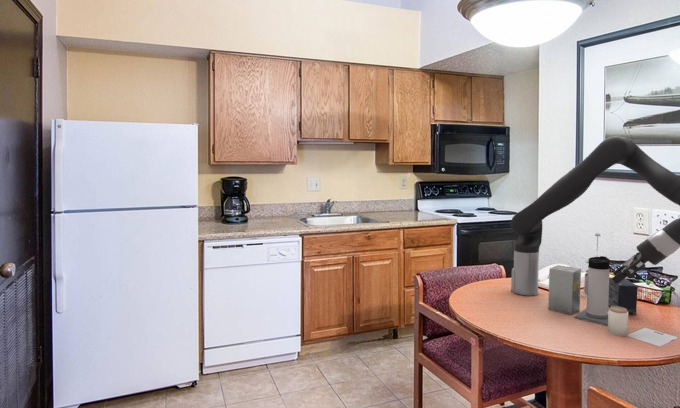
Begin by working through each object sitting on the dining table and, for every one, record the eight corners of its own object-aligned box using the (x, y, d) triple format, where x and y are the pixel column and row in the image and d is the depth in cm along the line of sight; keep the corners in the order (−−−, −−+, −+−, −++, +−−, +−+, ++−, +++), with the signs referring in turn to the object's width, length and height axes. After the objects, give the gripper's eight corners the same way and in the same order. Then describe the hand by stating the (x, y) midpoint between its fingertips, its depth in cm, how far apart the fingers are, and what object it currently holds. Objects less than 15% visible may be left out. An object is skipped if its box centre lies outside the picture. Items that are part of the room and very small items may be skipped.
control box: (547, 308, 160) (548, 268, 159) (555, 304, 165) (556, 264, 163) (572, 314, 154) (573, 272, 152) (580, 310, 158) (581, 269, 157)
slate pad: (574, 317, 151) (574, 315, 151) (586, 310, 157) (586, 308, 157) (607, 325, 143) (607, 323, 143) (617, 318, 150) (618, 315, 150)
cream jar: (605, 332, 138) (606, 308, 137) (610, 328, 141) (611, 304, 141) (624, 337, 134) (625, 312, 133) (629, 332, 138) (630, 308, 137)
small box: (637, 315, 152) (639, 285, 151) (616, 314, 154) (618, 285, 153) (624, 305, 163) (626, 277, 162) (605, 304, 164) (606, 277, 163)
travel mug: (611, 316, 150) (614, 257, 148) (602, 320, 146) (604, 260, 144) (592, 311, 155) (594, 254, 153) (582, 315, 151) (584, 257, 149)
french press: (576, 294, 176) (578, 232, 173) (591, 289, 182) (594, 229, 180) (601, 301, 168) (604, 236, 165) (617, 295, 174) (620, 232, 171)
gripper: (647, 234, 146) (606, 265, 153) (648, 241, 134) (603, 274, 142) (667, 251, 144) (624, 282, 151) (670, 260, 132) (623, 292, 139)
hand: (614, 278), depth 146 cm, fingers open, 8 cm apart
